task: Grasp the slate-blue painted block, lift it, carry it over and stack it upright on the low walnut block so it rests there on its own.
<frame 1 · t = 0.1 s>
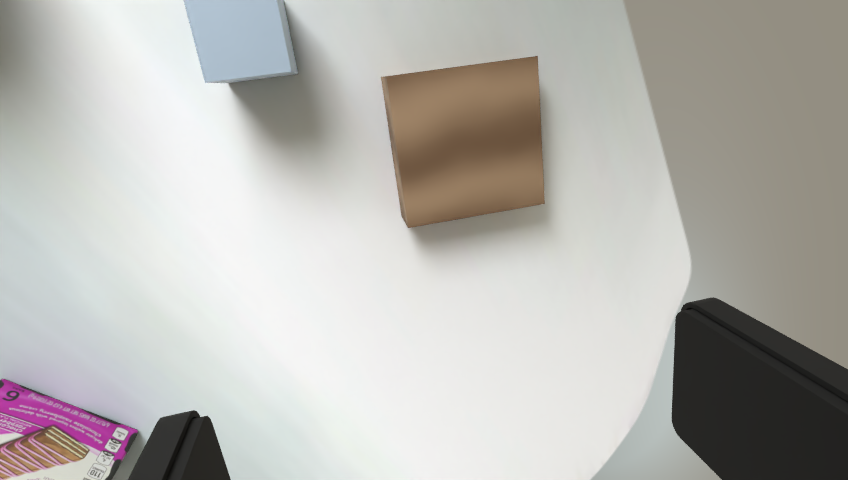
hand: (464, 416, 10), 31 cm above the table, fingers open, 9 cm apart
walnut block: (457, 138, 40), on the table
slate block: (255, 41, 35), on the table
candy bar box: (62, 421, 41), on the table
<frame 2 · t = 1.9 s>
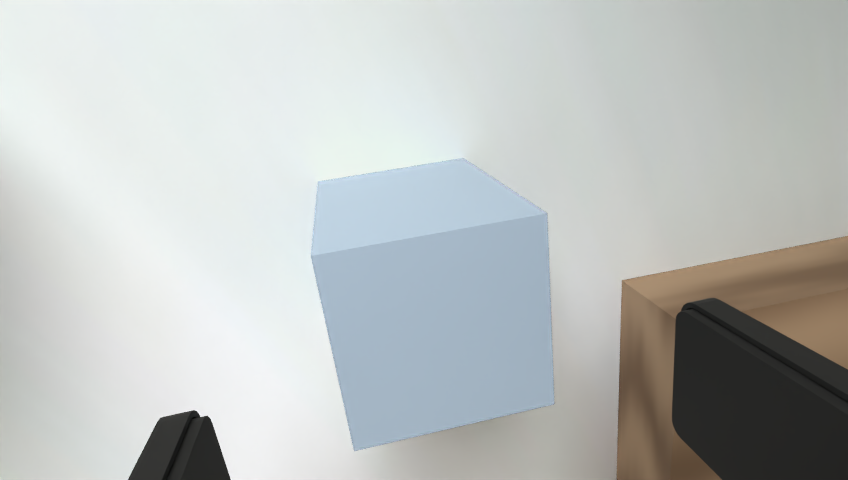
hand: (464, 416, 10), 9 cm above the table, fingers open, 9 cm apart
walnut block: (723, 362, 23), on the table
slate block: (402, 238, 17), on the table
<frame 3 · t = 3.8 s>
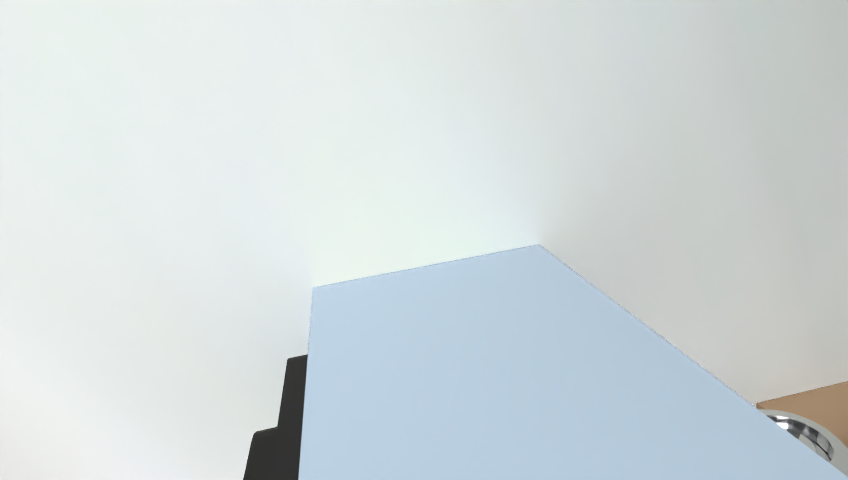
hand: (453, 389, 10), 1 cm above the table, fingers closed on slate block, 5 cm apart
slate block: (443, 364, 11), on the table, touching gripper
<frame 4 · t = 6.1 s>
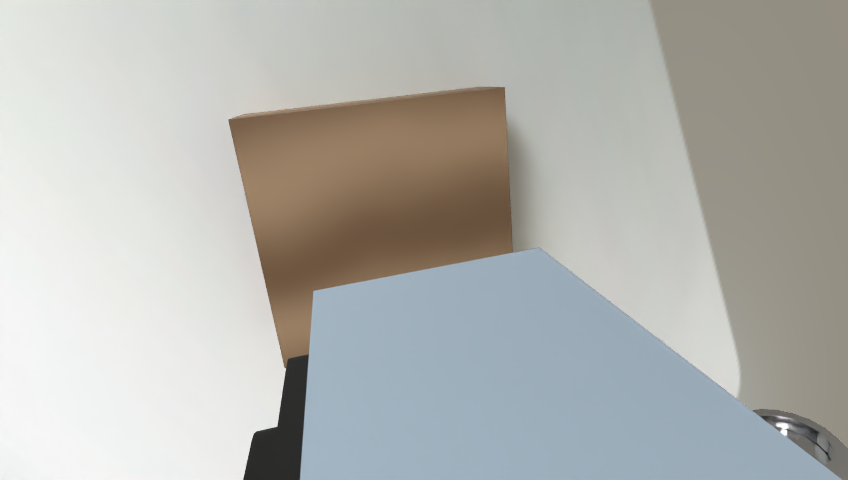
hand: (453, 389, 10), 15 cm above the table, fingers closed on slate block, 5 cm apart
walnut block: (380, 211, 25), on the table
slate block: (443, 367, 11), point 14 cm above the table, touching gripper
when the fingers open (6 cm above the table, at t = 8.4 s): slate block drops 1 cm, point 4 cm above the table.
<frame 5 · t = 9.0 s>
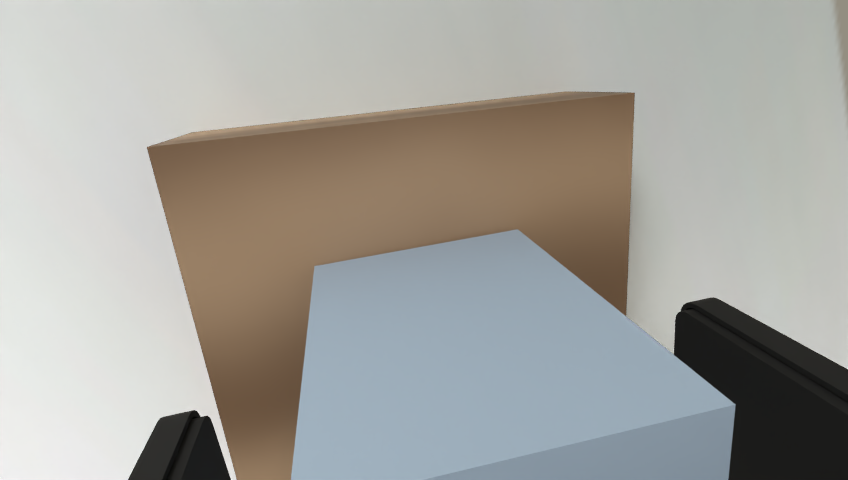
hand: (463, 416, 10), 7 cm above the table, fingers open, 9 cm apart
walnut block: (407, 278, 16), on the table
slate block: (431, 337, 13), point 4 cm above the table
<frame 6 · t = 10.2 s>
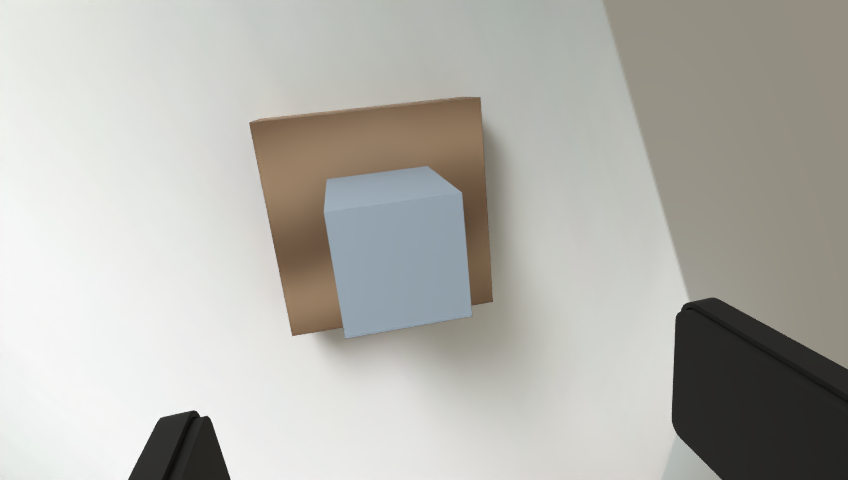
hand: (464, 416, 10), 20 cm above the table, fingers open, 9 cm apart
walnut block: (376, 204, 29), on the table
slate block: (384, 221, 25), point 4 cm above the table
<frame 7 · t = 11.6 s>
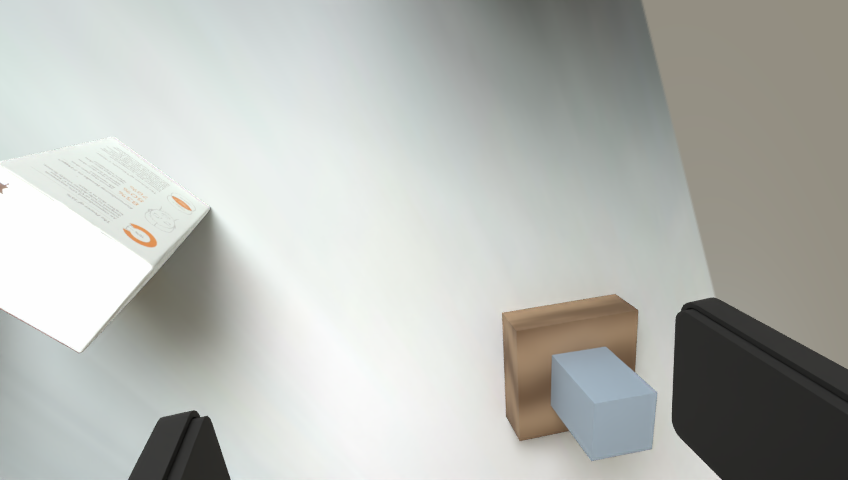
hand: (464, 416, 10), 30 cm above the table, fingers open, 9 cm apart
walnut block: (557, 353, 47), on the table, touching slate block
slate block: (578, 376, 43), point 4 cm above the table, touching walnut block
small box: (139, 204, 36), on the table
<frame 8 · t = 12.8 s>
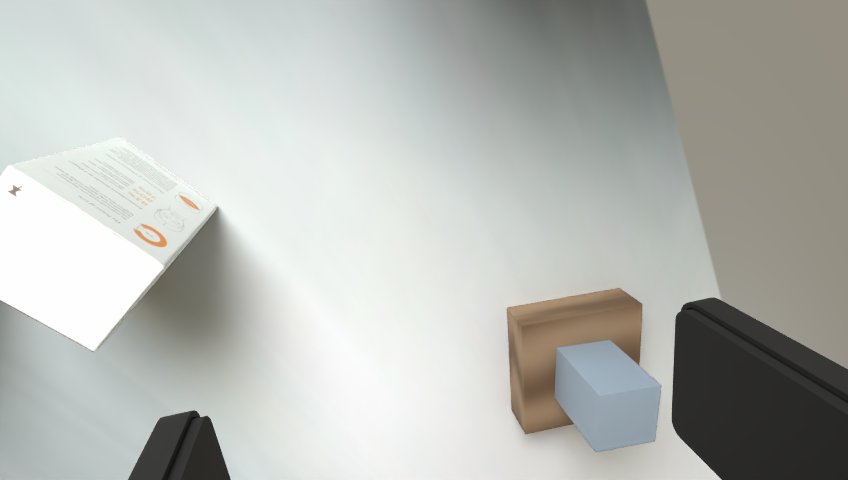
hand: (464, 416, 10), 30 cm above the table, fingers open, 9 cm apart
walnut block: (562, 347, 47), on the table
slate block: (581, 368, 43), point 4 cm above the table
small box: (147, 203, 36), on the table
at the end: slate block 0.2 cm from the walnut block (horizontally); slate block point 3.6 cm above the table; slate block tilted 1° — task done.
